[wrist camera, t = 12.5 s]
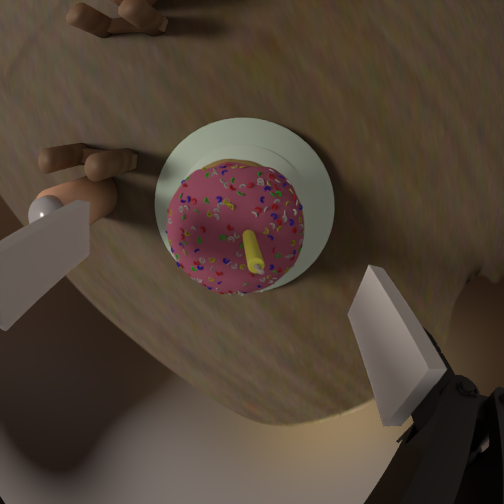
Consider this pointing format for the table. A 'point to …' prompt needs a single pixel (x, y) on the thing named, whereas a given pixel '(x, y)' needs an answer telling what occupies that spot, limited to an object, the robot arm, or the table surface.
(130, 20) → the rack
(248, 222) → the cupcake
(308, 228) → the plate
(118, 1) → the shaker
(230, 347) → the table surface
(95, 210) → the shaker
